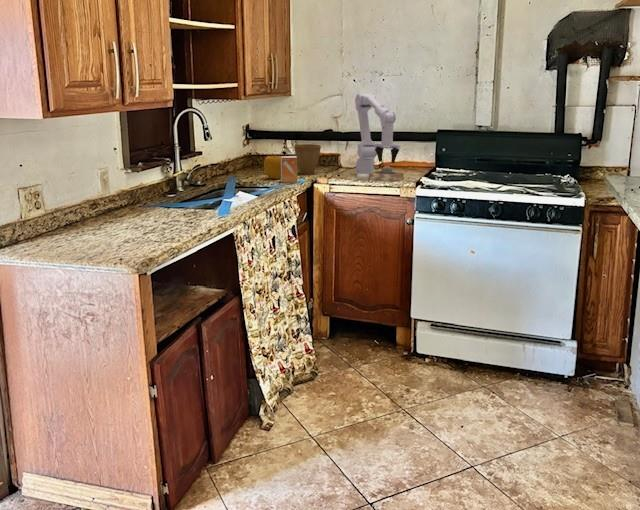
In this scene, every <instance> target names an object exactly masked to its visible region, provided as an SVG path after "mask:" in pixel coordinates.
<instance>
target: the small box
mask: <svg viewBox="0 0 640 510" xmlns="http://www.w3.org/2000/svg"><path fill="white" fill-rule="evenodd" d="M280 181H281V183H288V184H289V183H298V163H297V157H296V155H288V156H287V155H285V156H282V155H281V178H280Z"/></svg>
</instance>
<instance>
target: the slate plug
mask: <svg viewBox="0 0 640 510" xmlns="http://www.w3.org/2000/svg"><path fill="white" fill-rule="evenodd" d="M381 171H382V174H389V175H392V172H393V167H391V166H389V165H388V166H387V165H385V166H383V167H381Z"/></svg>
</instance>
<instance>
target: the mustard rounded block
mask: <svg viewBox="0 0 640 510" xmlns="http://www.w3.org/2000/svg"><path fill="white" fill-rule="evenodd" d="M281 156H282V155H281ZM281 156H280V155H276V154H274V155H267V156H266V157H264V161H263V169H264V171H265V174H266V176H267V177H268V178H269V179H273V180H281Z"/></svg>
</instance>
